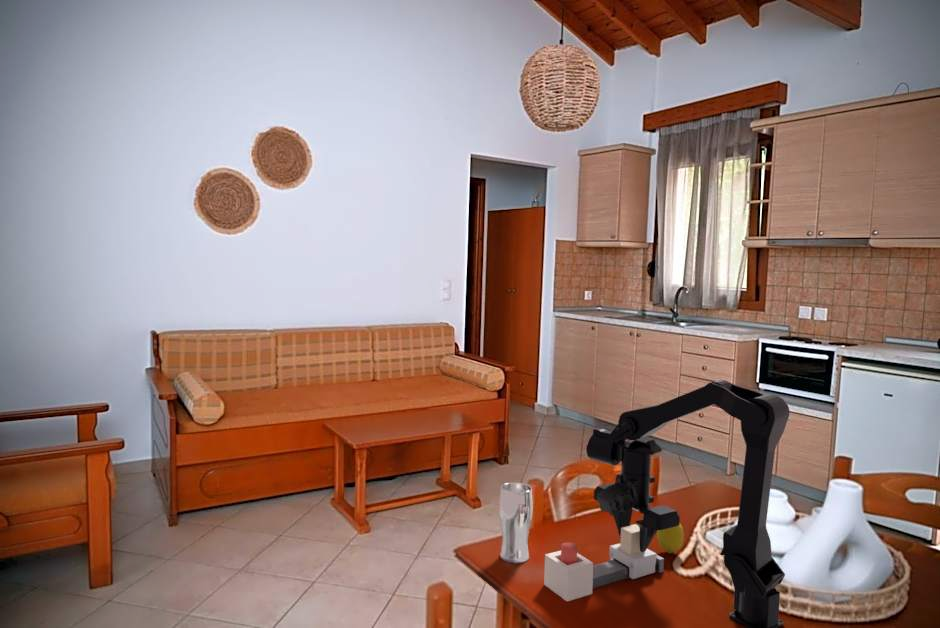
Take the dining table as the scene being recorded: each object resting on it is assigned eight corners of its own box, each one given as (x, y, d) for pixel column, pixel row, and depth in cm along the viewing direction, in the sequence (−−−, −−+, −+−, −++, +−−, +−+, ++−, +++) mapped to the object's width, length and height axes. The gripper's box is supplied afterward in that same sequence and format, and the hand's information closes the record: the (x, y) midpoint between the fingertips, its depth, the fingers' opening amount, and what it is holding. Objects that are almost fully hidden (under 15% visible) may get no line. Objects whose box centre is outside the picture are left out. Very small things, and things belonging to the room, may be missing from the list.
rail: (663, 571, 126) (663, 558, 126) (598, 592, 117) (598, 577, 117) (638, 557, 132) (638, 545, 132) (574, 575, 123) (575, 562, 123)
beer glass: (492, 559, 130) (494, 489, 129) (506, 546, 136) (508, 479, 135) (523, 567, 126) (525, 495, 125) (536, 554, 133) (538, 485, 132)
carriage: (655, 572, 125) (657, 532, 124) (633, 579, 122) (635, 538, 121) (630, 558, 131) (632, 519, 130) (609, 564, 128) (610, 525, 127)
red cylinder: (579, 573, 117) (580, 547, 117) (567, 576, 116) (568, 550, 115) (569, 566, 120) (570, 541, 120) (557, 569, 118) (558, 544, 118)
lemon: (684, 560, 131) (686, 523, 131) (657, 557, 132) (659, 520, 132) (681, 549, 136) (682, 513, 136) (655, 546, 138) (656, 511, 137)
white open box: (592, 593, 116) (593, 562, 116) (567, 601, 114) (568, 569, 113) (568, 577, 123) (569, 548, 122) (544, 584, 120) (545, 554, 119)
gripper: (574, 463, 129) (572, 536, 130) (640, 491, 113) (637, 575, 114) (615, 456, 134) (612, 526, 135) (683, 482, 118) (679, 562, 119)
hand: (633, 546), depth 126 cm, fingers open, 5 cm apart
